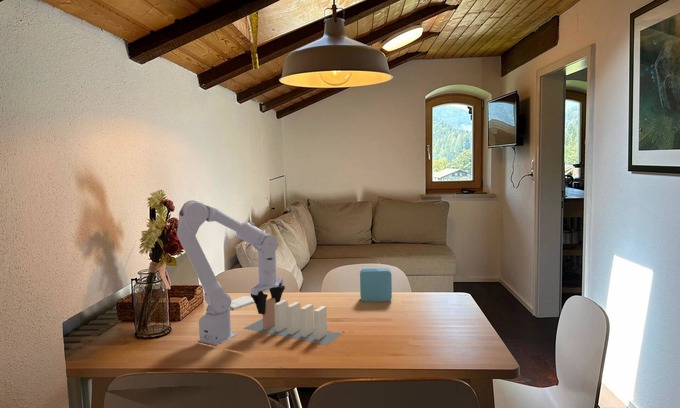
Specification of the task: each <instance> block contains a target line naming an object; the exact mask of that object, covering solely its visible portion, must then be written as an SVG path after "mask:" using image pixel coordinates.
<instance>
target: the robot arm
mask: <svg viewBox="0 0 680 408" xmlns="http://www.w3.org/2000/svg"><path fill="white" fill-rule="evenodd" d="M205 221H206V222H208V223H211V222H217V223H218V224H220V225H222V226H224V227H226V228H229V229H230V230H232V231H234V232H235V233H236V237H237V238H238V239H240V240H242V241H243V242H246V243H247V244H249V245H251V246H253V247H255V248H256V249H257V255H258V256H257V261H258V262H257V263H258V267H257V268H258V283H257V284H256V285H255V286H253V287H251V289H250V297H252V298H253V300H254V302H255V303H254V304H255V306H256V309H257V313H258V315H262V316H263V315H264V314H265V304H266V300H268V299H267V298H268V295H269V294H267V293H264V292H266V291H267V290H269V292H270V298H275V304H276V303H278V302H280V301H281V299H282V296H283V293H284V291H285V289H286V286H285V285H284V278H280V277H277V258H276V257H277V256H276V251H277V249H278V247H279V243H278V240H277V239H276V237H275V236H273V235H272V234H269V233H267V231H266V230H265V229H260V228H259V227H257V226H255V223H254V222H252V221H249V222H248V221H245V222H240V221H238V220H236V219H234V218H233V217H231V216H230V215H228V214H227V213H225V212H222V210H219V209H218V208H215V207H212V206H209V205H206V204H204V203H202V202H198V201H197V200H194V199H193V200H192V199H191V200H188V201H185V203H183V205H182V207H181V208H180V211H179V212H178V221H177V223H178V224H177V228H176V229H177V231H176V236H177V238H178V240H179V242H180V245H181V246H182V248H183V250H184V252H185V254H186V256H187V258H188V260H189V262H190V264H191V266H192V268H193V270H194V272H195V274H196V277H197V278H198V280H199V282H200V285H201V286H202V287H201V288H202V291H203V292H204V300H205V303H206V304H208V305H207V306H206V308H205V314H204V315H202V316H201V317H200V318H199V322H198V330H199V333H198V334H199V338H198V339H197V341H198V342H202V343H206V344H209V345H214V346H218V345H220V344H221V343H224V342H226V341H228V340H229V339H232V338H234V337H236V336H238V333H237V332H236V333H235V332H232V323H231V309H230V305H231V300H232V298H231V296H230V295H229V294H228V293H227V292H225V291H224V289H223V287H222V285H221V284H220V282H219V281H218V279H217V277H216V275H215V273H214V271H213V269H212V267H211V265H210V263H209V261H208V259H207V257H206V254H205V253H204V250H203V248H202V246H201V245H200V242H199V240H198V239H197V237H196V235H197V233H198V231H199V228H200V227H201V226H202V225H203V224H204V223H205Z"/></svg>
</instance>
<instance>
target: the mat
mask: <svg viewBox="0 0 680 408" xmlns="http://www.w3.org/2000/svg"><path fill="white" fill-rule="evenodd" d="M243 329H245V330H250V331H255V332H259V333H264V334H270V335H273V336H278V337H284V338H287V339H288V338H289V339H292V340H293V339H294V340H299V341H303V342H308V343H314V344H319V345H323V346H328V345H329V344H331V343H332V342H334V341H335V340H336V339H339V337H341V336H343V333H339V332H335V331H329V330H327V335H326V336H324V337H323V338H321V339H320V340H317V339H315V336H314V332H313V333H311V334H310V335H308V336H306V337H302V336H301V330H299V331H297V332H296V333H294V334H288V327H287V328H286V329H284V330H282V331H280V332H277V331H275V326H273V327H271V328H269V329H263V318H262V319H259V320H257V321H255V322H253V323H252V324H249V325H247V326H245V327H244V328H243Z"/></svg>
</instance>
